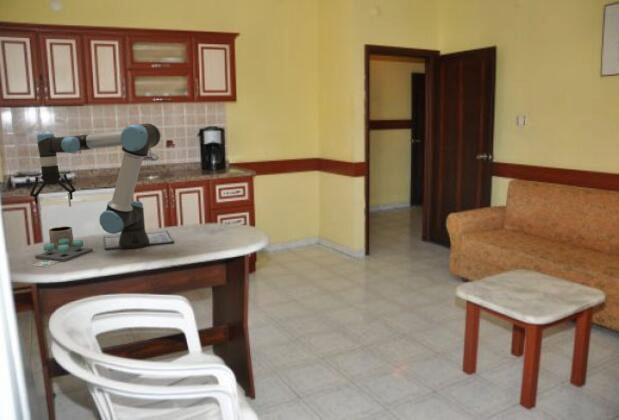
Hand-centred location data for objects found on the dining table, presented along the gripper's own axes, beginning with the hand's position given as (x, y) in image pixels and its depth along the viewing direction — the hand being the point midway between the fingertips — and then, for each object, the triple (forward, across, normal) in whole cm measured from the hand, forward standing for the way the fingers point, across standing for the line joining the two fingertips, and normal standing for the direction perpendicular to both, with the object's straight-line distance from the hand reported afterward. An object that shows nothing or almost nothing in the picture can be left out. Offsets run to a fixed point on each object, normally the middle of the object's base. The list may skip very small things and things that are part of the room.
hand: (55, 208), depth 256 cm
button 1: (+19, -7, +12) cm, 24 cm away
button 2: (+19, 0, +17) cm, 26 cm away
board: (+22, -1, +11) cm, 24 cm away
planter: (+22, -1, -7) cm, 23 cm away
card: (+22, +8, +22) cm, 32 cm away
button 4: (+19, +5, +10) cm, 23 cm away
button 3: (+19, -2, +5) cm, 20 cm away
